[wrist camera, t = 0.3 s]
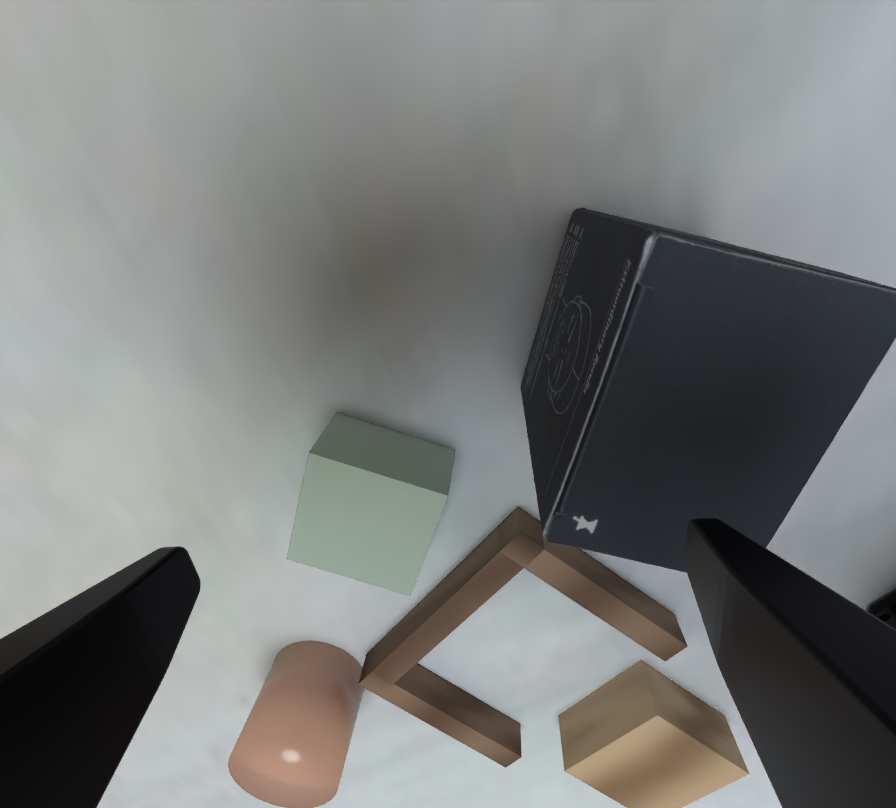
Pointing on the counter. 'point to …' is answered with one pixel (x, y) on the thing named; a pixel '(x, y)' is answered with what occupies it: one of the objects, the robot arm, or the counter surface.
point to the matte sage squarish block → (370, 503)
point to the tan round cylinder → (300, 727)
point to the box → (687, 384)
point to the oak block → (649, 742)
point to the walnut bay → (469, 588)
